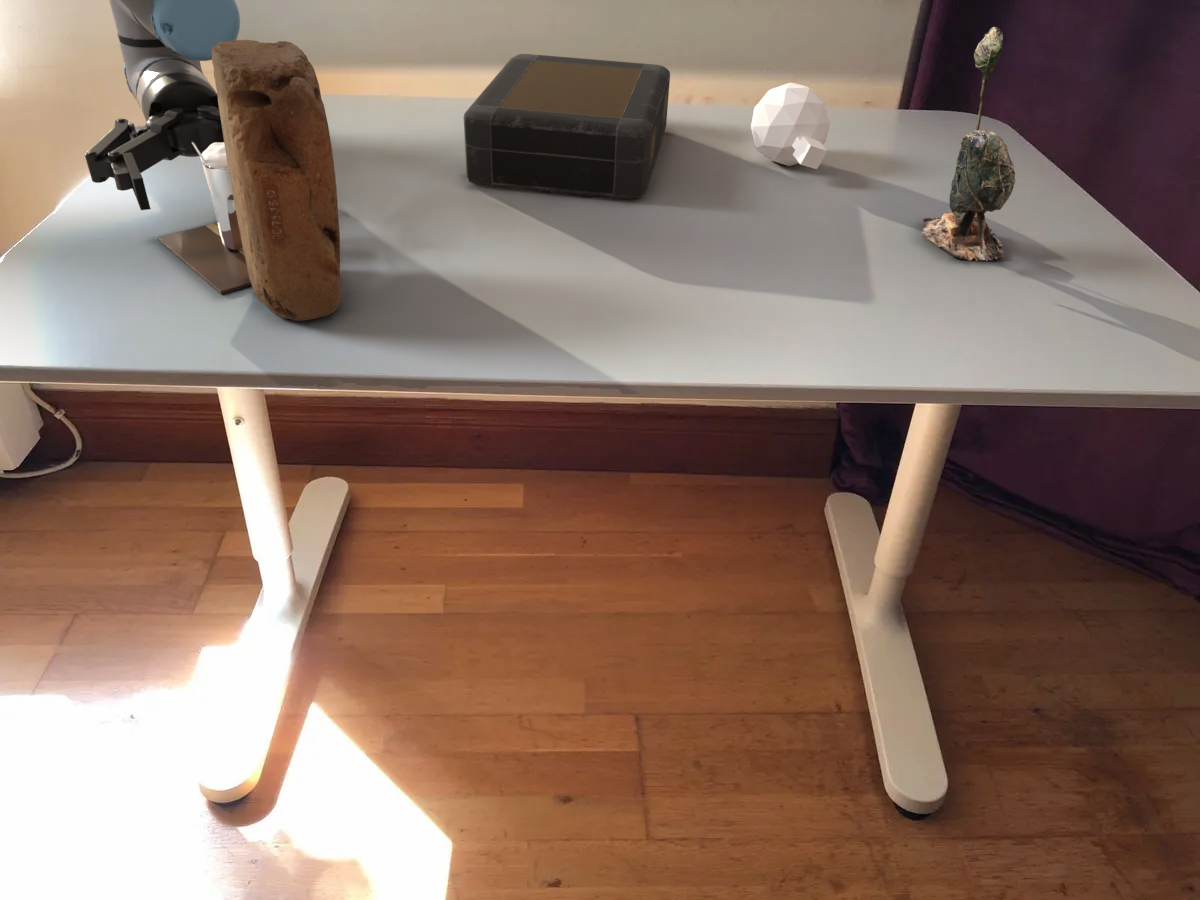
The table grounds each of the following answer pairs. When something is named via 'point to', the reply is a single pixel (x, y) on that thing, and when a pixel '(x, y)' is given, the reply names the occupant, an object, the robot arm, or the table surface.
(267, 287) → the block
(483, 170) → the cash box
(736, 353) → the table surface
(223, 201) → the milkshake
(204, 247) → the brown rectangular board
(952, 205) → the plant with pod
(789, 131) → the perfume bottle
